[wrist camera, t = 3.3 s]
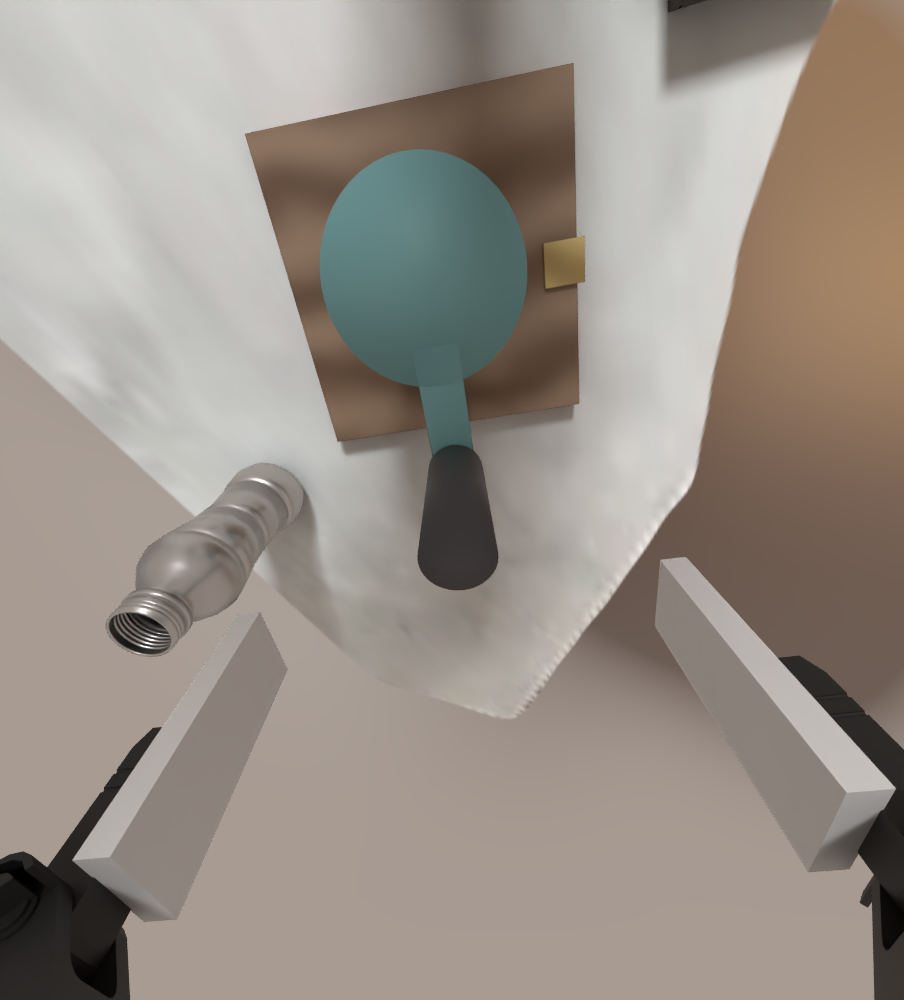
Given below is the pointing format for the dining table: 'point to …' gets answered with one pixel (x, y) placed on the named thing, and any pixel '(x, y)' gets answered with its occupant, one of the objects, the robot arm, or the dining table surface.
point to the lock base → (523, 182)
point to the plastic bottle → (205, 560)
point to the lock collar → (430, 321)
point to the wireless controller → (680, 4)
